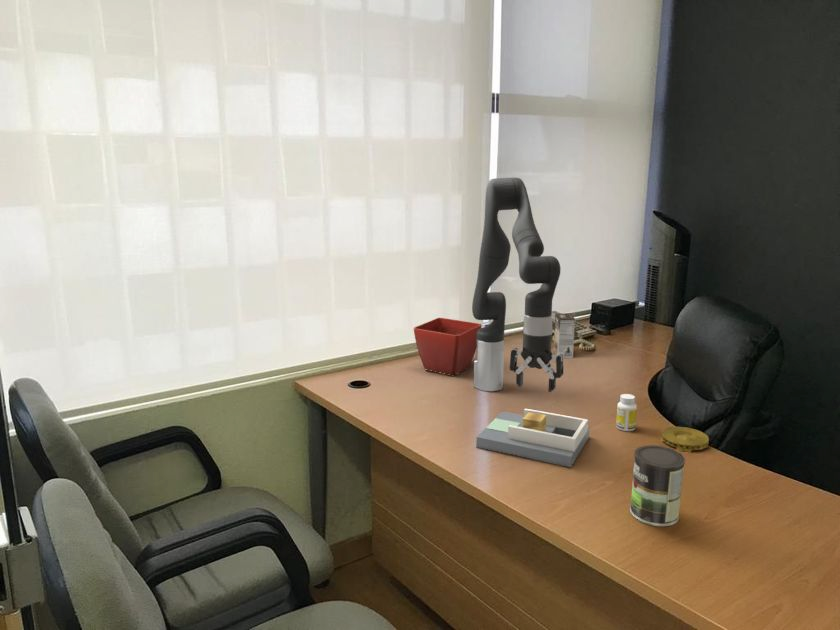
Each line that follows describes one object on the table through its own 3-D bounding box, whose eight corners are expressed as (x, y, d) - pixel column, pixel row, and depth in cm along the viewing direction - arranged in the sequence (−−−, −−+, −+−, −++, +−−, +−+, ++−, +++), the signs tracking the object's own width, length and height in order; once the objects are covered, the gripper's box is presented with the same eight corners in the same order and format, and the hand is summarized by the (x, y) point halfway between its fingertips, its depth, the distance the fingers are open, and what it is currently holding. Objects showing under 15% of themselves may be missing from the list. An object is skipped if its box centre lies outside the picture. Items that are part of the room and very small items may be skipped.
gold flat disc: (651, 438, 177) (652, 431, 176) (684, 430, 182) (684, 423, 181) (684, 456, 166) (685, 448, 166) (718, 447, 171) (718, 440, 170)
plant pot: (482, 366, 239) (482, 323, 235) (457, 381, 223) (458, 335, 219) (439, 358, 249) (438, 317, 245) (412, 372, 233) (412, 328, 229)
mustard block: (522, 433, 173) (522, 418, 172) (528, 427, 177) (528, 412, 176) (540, 437, 171) (540, 421, 170) (545, 430, 175) (546, 415, 174)
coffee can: (641, 528, 134) (646, 468, 130) (622, 502, 144) (626, 446, 140) (688, 525, 135) (694, 465, 131) (666, 500, 145) (671, 443, 141)
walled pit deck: (476, 447, 172) (476, 425, 170) (502, 420, 189) (502, 400, 188) (570, 467, 160) (572, 443, 159) (589, 437, 177) (590, 415, 176)
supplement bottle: (635, 425, 185) (637, 394, 182) (635, 432, 180) (637, 400, 177) (616, 423, 187) (618, 392, 184) (615, 430, 182) (617, 398, 179)
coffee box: (553, 351, 256) (554, 313, 252) (568, 351, 256) (570, 313, 252) (557, 358, 247) (559, 318, 243) (573, 358, 247) (575, 318, 243)
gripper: (507, 331, 167) (505, 389, 171) (560, 337, 161) (557, 397, 164) (516, 325, 173) (515, 380, 177) (567, 330, 167) (565, 388, 171)
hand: (535, 388), depth 171 cm, fingers open, 8 cm apart
